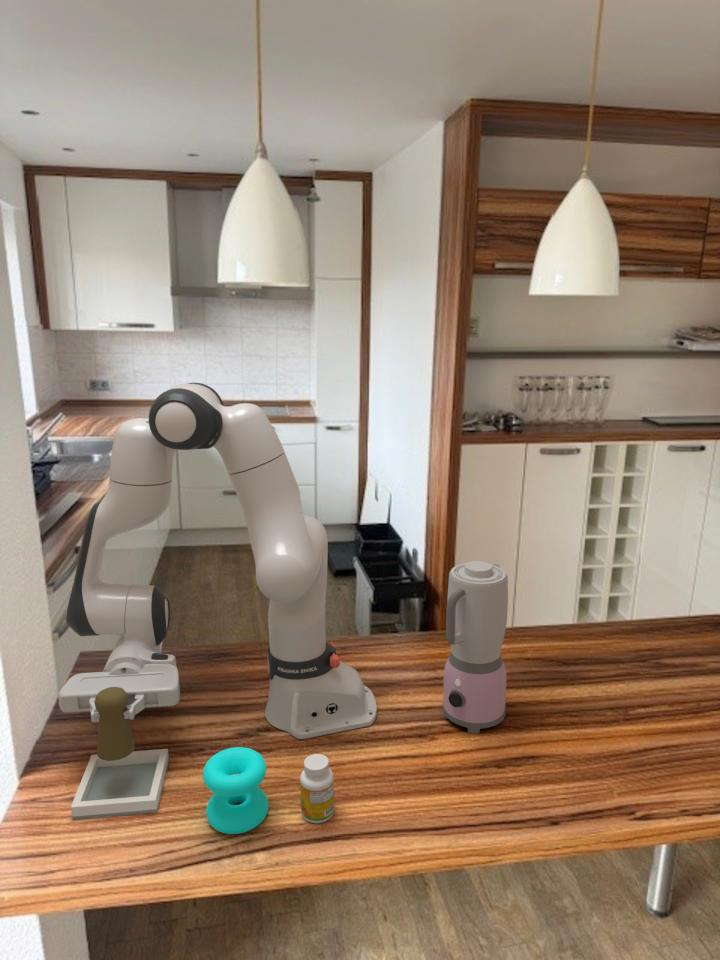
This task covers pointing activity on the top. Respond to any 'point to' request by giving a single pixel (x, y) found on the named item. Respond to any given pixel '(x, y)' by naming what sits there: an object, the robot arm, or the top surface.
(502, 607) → the blender
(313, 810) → the supplement bottle
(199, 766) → the top surface
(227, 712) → the top surface
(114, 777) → the picture frame
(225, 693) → the top surface
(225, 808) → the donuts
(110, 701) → the olive brown pawn
